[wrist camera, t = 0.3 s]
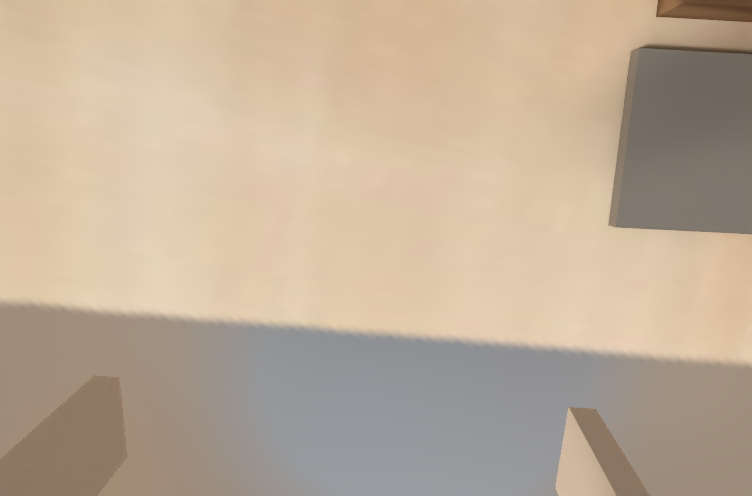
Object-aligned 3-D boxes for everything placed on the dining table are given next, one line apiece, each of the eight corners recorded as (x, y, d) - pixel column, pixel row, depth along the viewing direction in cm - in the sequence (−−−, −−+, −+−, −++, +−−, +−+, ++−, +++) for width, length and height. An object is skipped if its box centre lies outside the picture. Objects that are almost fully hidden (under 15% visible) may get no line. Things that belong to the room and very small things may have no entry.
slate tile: (631, 51, 38) (639, 47, 37) (804, 60, 39) (817, 57, 37) (608, 225, 41) (615, 227, 40) (772, 233, 41) (784, 235, 40)
